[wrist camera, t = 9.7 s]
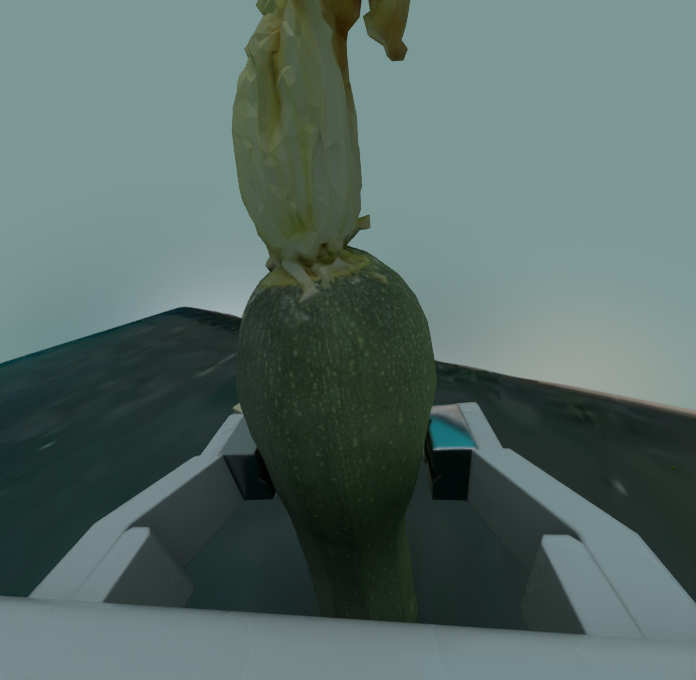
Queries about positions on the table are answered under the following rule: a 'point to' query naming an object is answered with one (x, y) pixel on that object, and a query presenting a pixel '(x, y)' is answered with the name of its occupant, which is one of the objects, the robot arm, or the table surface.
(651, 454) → the table surface
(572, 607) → the robot arm
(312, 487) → the vegetable
